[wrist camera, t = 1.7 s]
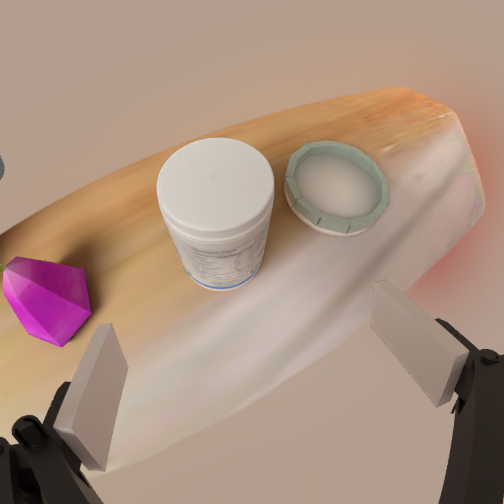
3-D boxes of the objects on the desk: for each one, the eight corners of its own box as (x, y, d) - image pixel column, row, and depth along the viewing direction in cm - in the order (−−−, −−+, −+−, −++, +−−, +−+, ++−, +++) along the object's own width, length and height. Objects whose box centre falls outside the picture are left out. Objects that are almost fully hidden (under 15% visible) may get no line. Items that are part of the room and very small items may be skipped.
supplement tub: (178, 228, 38) (151, 144, 25) (252, 214, 39) (259, 126, 26) (189, 302, 34) (157, 242, 21) (272, 285, 35) (291, 217, 22)
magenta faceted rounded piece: (79, 250, 36) (19, 183, 23) (113, 319, 33) (43, 270, 19) (20, 295, 33) (-52, 247, 19) (47, 366, 29) (-38, 341, 16)
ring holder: (274, 222, 39) (277, 209, 36) (292, 145, 45) (295, 131, 42) (379, 248, 38) (388, 237, 35) (380, 169, 44) (387, 156, 41)
